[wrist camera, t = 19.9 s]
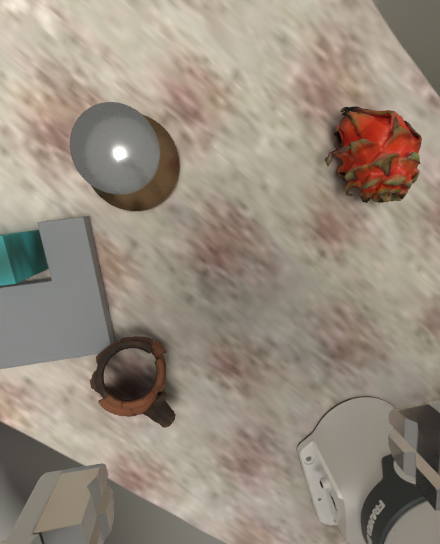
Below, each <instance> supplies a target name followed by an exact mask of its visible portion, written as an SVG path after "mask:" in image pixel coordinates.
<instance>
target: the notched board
mask: <svg viewBox="0 0 440 544" xmlns="http://www.w3.org/2000/svg"><path fill="white" fill-rule="evenodd" d="M37 223H38V227H39V231H40V235H41V239H42V243H43V247H44V251H45V255H46V259H47V263H48V267H49V271H50V275H51V278H48V279H40V280H33V281H25V282H18V283H16V284H9V285H2V286H0V369H4V368H11V367H17V366H24V365H30V364H37V363H43V362H50V361H56V360H63V359H69V358H75V357H82V356H88V355H95V354H100V353H101V352H102V351H104V350H105V349H106V348H107V347H108V346H109V345H111V344H112V343H114V342H115V338H114V333H113V328H112V324H111V319H110V314H109V309H108V305H107V300H106V295H105V290H104V285H103V281H102V276H101V271H100V266H99V262H98V257H97V252H96V247H95V242H94V238H93V233H92V228H91V223H90V219H89V217H80V218H71V219H63V220H54V221H45V222H37Z"/></svg>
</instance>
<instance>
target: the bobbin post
mask: <svg viewBox="0 0 440 544" xmlns="http://www.w3.org/2000/svg"><path fill="white" fill-rule="evenodd" d="M70 151H71V156H72V160H73V162H74V164H75V167H76V168H77V170H78V172H79V173H80V174H81V176H82V177H83V178H84V179H85V180H86V181H87V182H88V183H89V184H91V186H92V187H93V189H94V190H95V191H96V193H97V194H98V195H99V196H100V197H101V198H103V199H104V200H105V201H106V202H108V203H109V204H111V205H113V206H115V207H117V208H120V209H124V210H129V211H141V210H147V209H151V208H153V207H156V206H158V205H159V204H161V203H162V202H164V201H165V200H166V199H167V198H168V197H169V196H170V194H171V193H172V191H173V190H174V188H175V186H176V184H177V181H178V177H179V168H180V166H179V157H178V152H177V149H176V146H175V144H174V142H173V140H172V138H171V136H170V135H169V134H168V132H167V131H166V130H165V129H164V128H163V127H162V126H161V125H160V124H159V123H157V122H156V121H155V120H153V119H151V118H149V117H147V116H145V115H142V114H141V113H139V112H138V111H137V110H135V109H133V108H132V107H130V106H127V105H125V104H121V103H115V102H105V103H100V104H97V105H94V106H92V107H90V108H89V109H87V110H86V111H84V112H83V113H82V114H81V115H80V117H79V118H78V119H77V121H76V122H75V124H74V126H73V129H72V132H71V136H70Z"/></svg>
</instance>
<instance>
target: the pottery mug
mask: <svg viewBox="0 0 440 544" xmlns="http://www.w3.org/2000/svg"><path fill="white" fill-rule="evenodd" d="M128 348H138V349H141V350H144V351H146V352H147V353H149V354H150V353H152V354H153V355H154V356H155V358H156V361H155V364H156V368H157V376H156V380H155V383H154V385H153V387H152V388H151V390H150V391H149V392H148V393H147V394H146V395H144V396H142V397H140V398H138V399H135V400H122V399H120V398H117V397H116V396H115V395H114V394H113V393H111V391H110V390H109V389H108V387H105V384H104V369H105V366H106V364H107V362H108V361H109V359H110V358H111V357H112V356H113V355H114V354H116V353H117V352H119V351H121V350H124V349H128ZM163 353H166V350H165V349H164V347H163V346H162V345H161V344H160V343H159V342H157V341H154V340H153V339H151V338H147V337H138V336H133V337H126V338H122V339H121V341H115V342H114V343H112V344H111V345H109V346H108V347H107V348H106V349H105V350H104V351H102V352H101V353H100V354H98V355H97V356H96V361H97V364H98V366H97V370H96V371H94V373H93V375H92V379H91V380H90V383H91V388H92V389H94V390H95V391H96V392H98V393H100V395H101V396H102V397H103V399H101V400H99V401H98V402H99V403H100V405H101V406H102V407H103V408H104V409H105V410H107V411H108V412H110V413H113V414H115V415H119V416H136V415H139V414H144V415H146V416H148V417H149V418H151V419H152V420H153V421H155V422H157V423H159V424H160V425H161V426H162V427H168V426H170V425H171V424H172V423H173V421H174V420H175V413H174V411H173V410H172V409H171V408H170V406H169V405H168V404H167V403H166V401H165V396H166V393H165V392H164V390H163V388H164V384H165V379H166V363H165V359H164V356H163V355H162V354H163Z"/></svg>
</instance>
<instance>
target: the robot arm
mask: <svg viewBox="0 0 440 544" xmlns="http://www.w3.org/2000/svg"><path fill="white" fill-rule="evenodd" d="M297 453H298V456H299V459H300V462H301V466H302V469H303V472H304V476H305V479H306V482H307V486H308V489H309V492H310V495H311V499H312V502H313V505H314V509H315V512H316V515H317V517H318V519H319V520H320V522H321V523H324V524H328V525H334V526H338V527H339V529H340V531H341V533H342V535H343V537H344V539H345V540H346V542H347V543H348V544H440V400H437V401H432V402H427V403H423V404H418V405H413V406H408V407H403V408H398V409H394V407H392V406H391V405H390V404H389V403H387V402H385V401H383V400H381V399H377V398H371V397H362V398H356V399H352V400H349V401H346V402H344V403H342V404H340V405H338V406H336V407H335V408H333V409H332V410H331V411H330V412H328V413H327V414H326V415H325V416H324V418H323V419H322V420H321V421H320V423H319V424H318V426H317V427H316V429H315V431H314V432H313V433H312V434H311V435H310V436H309V437H307V438H306V439H305V440H304V441H303V442H301V443H300V444H299V446H298V448H297ZM107 478H108V472H107V468H106V465H105V464H103V463H102V464H96V465H90V466H83V467H77V468H71V469H65V470H62V471H55V472H48V473H45V474H44V475H43V476H42V477H40V479H39V480H38V482H37V484H36V486H35V488H34V490H33V492H32V493H31V495H30V497H29V499H28V501H27V503H26V505H25V507H24V509H23V510H22V512H21V514H20V516H19V518H18V520H17V521H16V523H15V525H14V527H13V529H12V531H11V533H10V535H9V537H8V539H7V540H5V541H0V544H104V542H103V541H104V540H105V539H106V537H107V536H108V535H109V533H110V532H111V527H112V523H113V514H114V498H113V492H112V488H111V487H109V486H108V485H107V484H106V482H107Z"/></svg>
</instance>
